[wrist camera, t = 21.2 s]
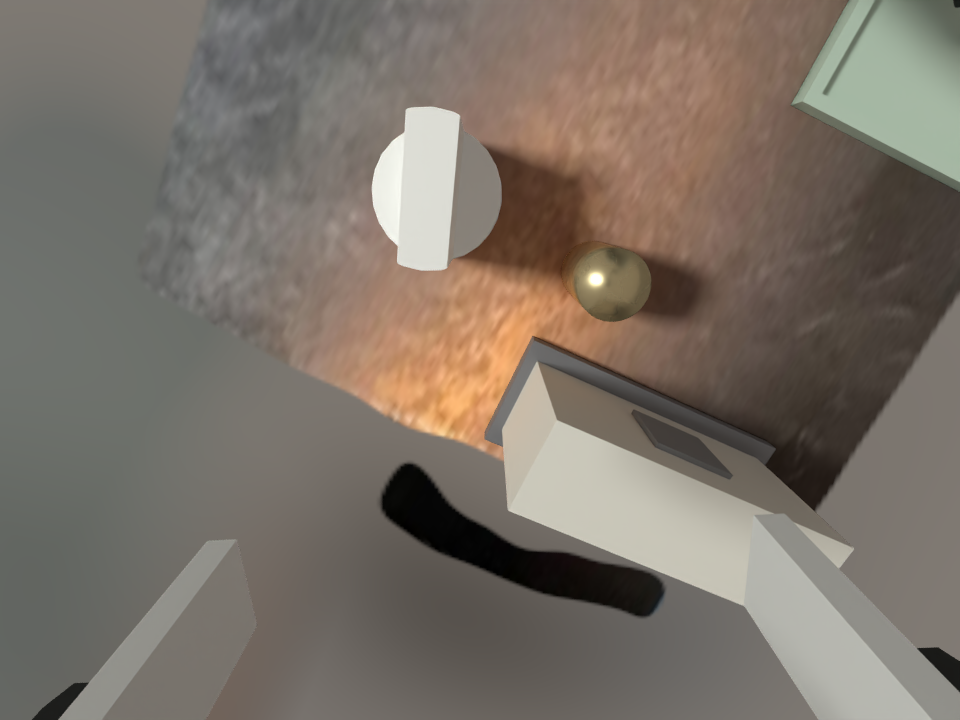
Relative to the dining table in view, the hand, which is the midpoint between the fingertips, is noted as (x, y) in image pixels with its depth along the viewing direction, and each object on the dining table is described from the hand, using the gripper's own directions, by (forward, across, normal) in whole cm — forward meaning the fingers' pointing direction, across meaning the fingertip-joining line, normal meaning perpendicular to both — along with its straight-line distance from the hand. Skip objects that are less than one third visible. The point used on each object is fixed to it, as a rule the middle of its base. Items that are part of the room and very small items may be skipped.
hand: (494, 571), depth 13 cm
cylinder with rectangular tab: (+32, -3, +10) cm, 34 cm away
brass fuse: (+32, +9, +3) cm, 33 cm away
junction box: (+32, +12, -12) cm, 36 cm away
